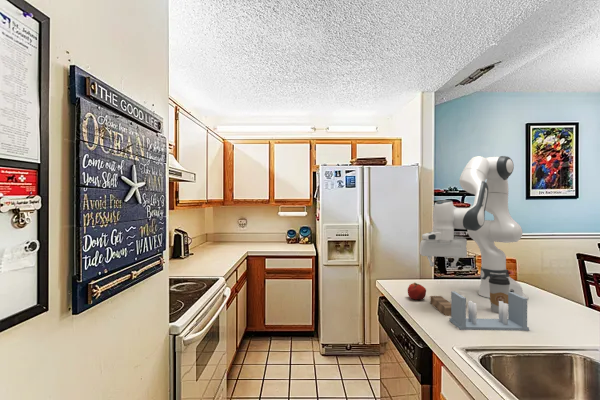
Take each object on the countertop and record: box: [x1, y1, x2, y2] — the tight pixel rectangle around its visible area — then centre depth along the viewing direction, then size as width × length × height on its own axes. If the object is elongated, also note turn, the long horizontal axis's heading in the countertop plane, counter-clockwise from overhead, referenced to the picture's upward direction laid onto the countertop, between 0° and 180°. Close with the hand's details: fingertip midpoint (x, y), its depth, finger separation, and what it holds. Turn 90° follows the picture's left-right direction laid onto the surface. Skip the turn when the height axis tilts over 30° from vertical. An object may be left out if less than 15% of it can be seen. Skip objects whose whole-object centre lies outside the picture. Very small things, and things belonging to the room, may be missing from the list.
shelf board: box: [429, 295, 451, 317], centre depth 158 cm, size 18×5×4 cm, turn 179°
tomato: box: [407, 282, 427, 301], centre depth 175 cm, size 9×9×8 cm
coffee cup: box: [489, 276, 510, 314], centre depth 156 cm, size 8×8×15 cm
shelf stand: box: [448, 290, 530, 332], centre depth 138 cm, size 26×10×12 cm, turn 88°
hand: (442, 266), depth 158 cm, fingers open, 8 cm apart
